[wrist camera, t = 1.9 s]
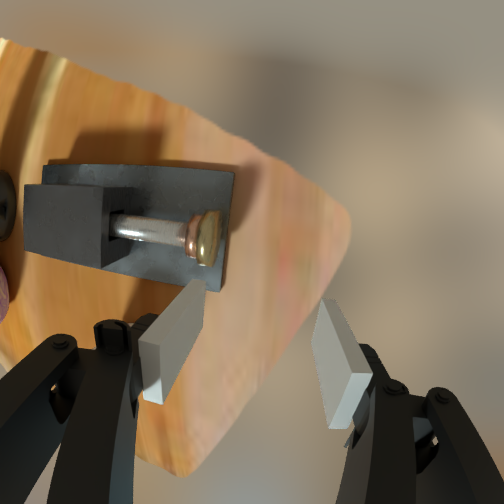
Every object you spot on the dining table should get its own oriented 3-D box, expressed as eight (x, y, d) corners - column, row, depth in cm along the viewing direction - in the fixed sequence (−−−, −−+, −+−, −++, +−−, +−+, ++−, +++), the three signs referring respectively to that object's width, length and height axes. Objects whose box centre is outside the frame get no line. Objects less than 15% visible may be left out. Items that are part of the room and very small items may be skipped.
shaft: (224, 208, 35) (213, 212, 28) (218, 259, 36) (207, 274, 30) (86, 195, 36) (58, 197, 29) (85, 238, 37) (58, 246, 31)
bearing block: (234, 173, 35) (223, 167, 27) (221, 289, 39) (207, 315, 30) (46, 165, 37) (12, 164, 28) (44, 253, 40) (12, 265, 32)
